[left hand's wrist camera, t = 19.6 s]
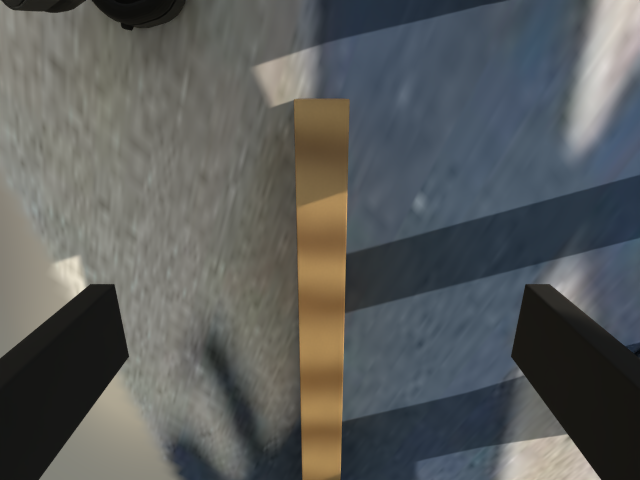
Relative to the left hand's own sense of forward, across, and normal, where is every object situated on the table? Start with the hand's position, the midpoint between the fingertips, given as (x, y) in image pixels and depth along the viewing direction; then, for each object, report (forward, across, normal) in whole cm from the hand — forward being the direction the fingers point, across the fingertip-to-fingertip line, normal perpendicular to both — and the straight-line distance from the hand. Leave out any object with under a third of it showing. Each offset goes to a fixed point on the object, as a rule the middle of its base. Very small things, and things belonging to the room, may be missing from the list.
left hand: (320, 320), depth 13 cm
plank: (+37, 0, -26) cm, 45 cm away
